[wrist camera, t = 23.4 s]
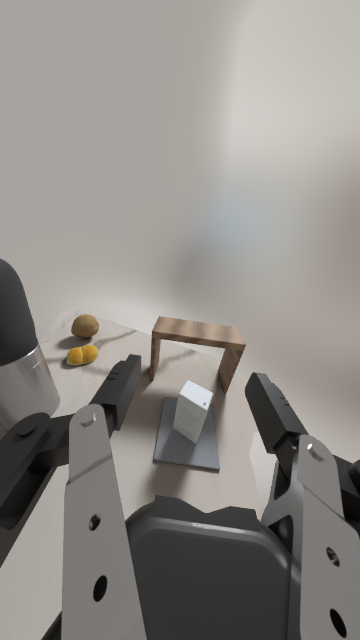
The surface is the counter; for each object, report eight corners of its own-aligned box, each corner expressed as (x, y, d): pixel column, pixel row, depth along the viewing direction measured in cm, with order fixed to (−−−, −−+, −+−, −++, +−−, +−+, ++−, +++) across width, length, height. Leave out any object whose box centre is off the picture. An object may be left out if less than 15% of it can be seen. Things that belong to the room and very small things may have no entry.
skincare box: (202, 426, 34) (214, 393, 29) (195, 445, 30) (207, 411, 25) (180, 411, 36) (187, 378, 31) (171, 428, 33) (178, 393, 27)
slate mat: (153, 460, 28) (153, 458, 28) (164, 398, 40) (164, 397, 39) (219, 470, 28) (220, 468, 28) (211, 405, 40) (211, 403, 39)
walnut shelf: (149, 380, 44) (152, 331, 36) (156, 360, 52) (159, 316, 44) (226, 391, 44) (246, 344, 36) (221, 369, 52) (235, 327, 44)
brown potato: (105, 335, 61) (103, 315, 57) (85, 346, 54) (81, 323, 50) (90, 329, 64) (87, 309, 60) (69, 338, 57) (63, 316, 52)
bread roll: (99, 361, 49) (98, 352, 47) (66, 369, 44) (63, 360, 42) (97, 347, 55) (96, 338, 53) (68, 353, 50) (66, 344, 48)
